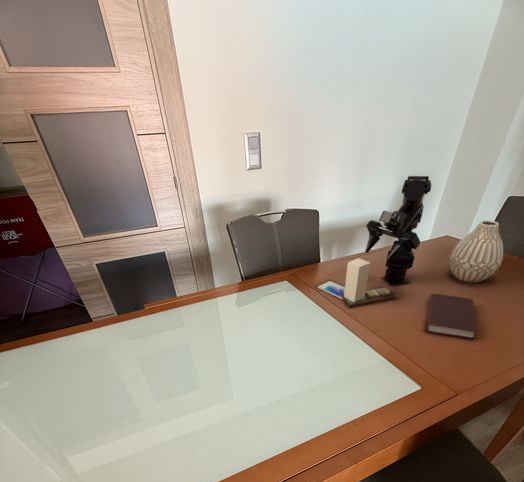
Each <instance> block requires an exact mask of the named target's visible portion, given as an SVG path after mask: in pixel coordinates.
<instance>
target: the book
mask: <svg viewBox="0 0 524 482" xmlns="http://www.w3.org/2000/svg"><path fill="white" fill-rule="evenodd" d="M427 314H428V315H427V324H426V332H428V333H432V334H439V335H446V336H451V337H452V336H453V337H459V338H465V339H475V333H477V326H476V317H475V316H476V315H475V308H474V299H473V298H468V297H464V296H463V297H462V296H455V295H447V294H439V293H431V294H430V295H429V299H428V313H427Z"/></svg>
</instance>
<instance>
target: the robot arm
mask: <svg viewBox="0 0 524 482" xmlns="http://www.w3.org/2000/svg"><path fill="white" fill-rule="evenodd" d="M431 189H432V181H431V179H430V176H429V175H408V177H407V179H404V181H403V185H402V188H401V194H402V197H403V198H402V204H401V206H400V207H399V208H398V210H394V211H393V212H391V211H387V210H382V213H381V215H380V217H379V218H378V221H377V220H375V219H374V220H373V219H372V220H369V221H368V222H367V224H366V225H365V227H366V229H367V231H368V235H369V236H368V240H367V243H366V247H365V253H367V254H368V253H369V252H370V251H371V250H372V249H373V247H375V245H376V244H377V243H378V242H379V241H380V240H381V238H380V237H382V236H383V235H386V236H389V237H391V238H395V239H397V240H394V241H393V242H392V245H391V248H390V249H389V250H388V252H387V256H386V260H385V268H386V270H385V274H384V276H383V277H382V279H383V280H384V281H385V282H387V283H388V284H389V285H390V286H396V285H402V284H406V283H407V282H408V281H407V280H406V275H407V272H408V270H410V269H411V268H413V264H414V261H415V254H414V252H413V250H417V249H418V247H419V246H420V244H421V239H420V238H419V235H418V234H417V232H414V231H413V230H414V229H417V227H418V225H419V224H420V223H421V220H422V216H423V213H424V208H425V206H424V203H423V201H424V196H425V195H428V194H429V193H431ZM381 222H383V225H382V223H381ZM383 226H385V227H383Z"/></svg>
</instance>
